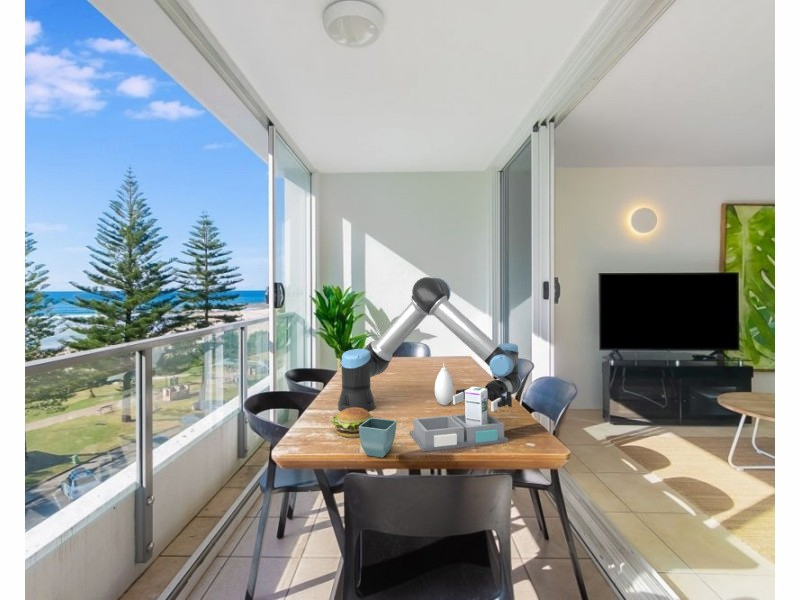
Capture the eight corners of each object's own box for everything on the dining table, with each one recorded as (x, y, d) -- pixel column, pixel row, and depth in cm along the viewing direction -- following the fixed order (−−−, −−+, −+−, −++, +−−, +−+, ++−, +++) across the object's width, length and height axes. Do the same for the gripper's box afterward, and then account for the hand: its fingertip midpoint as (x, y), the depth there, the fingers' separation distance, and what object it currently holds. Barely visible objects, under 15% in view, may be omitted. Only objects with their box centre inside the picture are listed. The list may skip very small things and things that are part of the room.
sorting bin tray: (422, 451, 117) (422, 433, 117) (409, 434, 131) (409, 417, 131) (508, 442, 123) (508, 424, 123) (486, 426, 138) (486, 410, 138)
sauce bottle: (431, 404, 166) (430, 361, 165) (444, 401, 170) (444, 359, 170) (443, 408, 159) (443, 364, 159) (457, 405, 164) (457, 362, 164)
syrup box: (482, 437, 125) (481, 391, 125) (464, 434, 128) (464, 389, 128) (488, 432, 130) (488, 388, 129) (471, 428, 133) (471, 385, 133)
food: (324, 431, 135) (324, 408, 135) (359, 423, 143) (359, 401, 143) (344, 443, 124) (344, 418, 124) (381, 433, 132) (381, 409, 132)
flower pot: (397, 450, 118) (397, 420, 118) (387, 461, 110) (386, 429, 110) (370, 446, 121) (370, 417, 121) (358, 457, 113) (358, 426, 113)
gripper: (532, 405, 136) (510, 422, 119) (467, 395, 150) (438, 408, 133) (532, 383, 136) (510, 397, 118) (467, 375, 150) (438, 386, 133)
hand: (472, 403), depth 126 cm, fingers open, 13 cm apart
